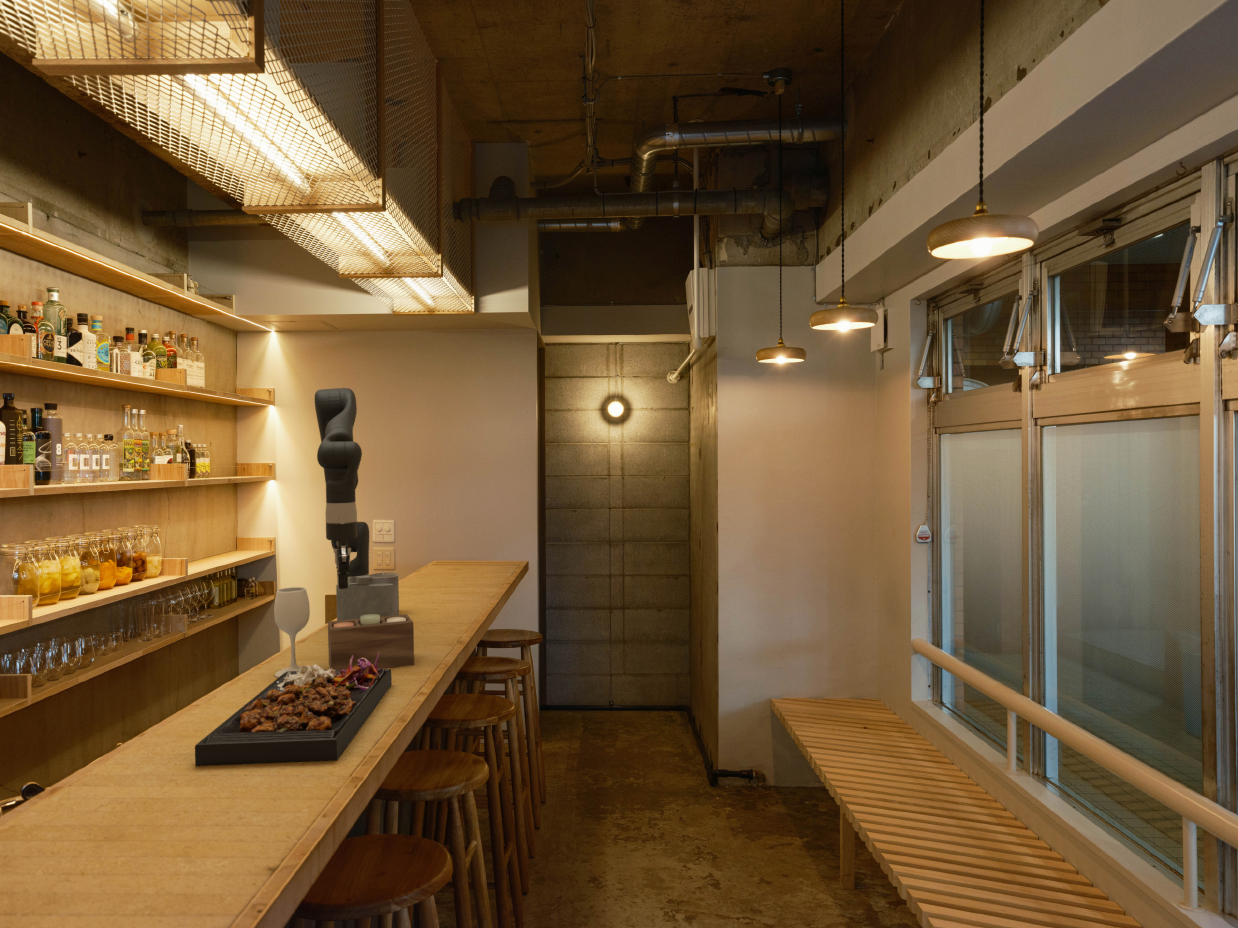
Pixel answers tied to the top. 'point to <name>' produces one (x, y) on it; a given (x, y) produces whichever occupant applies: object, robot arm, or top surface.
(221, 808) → the top surface
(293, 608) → the white bowl
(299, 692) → the food platter
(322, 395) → the robot arm
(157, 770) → the top surface
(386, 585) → the hip flask
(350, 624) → the orange brown egg
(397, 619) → the pale beige egg
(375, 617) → the pale green egg
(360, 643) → the three egg wooden crate
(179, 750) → the top surface
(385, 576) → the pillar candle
